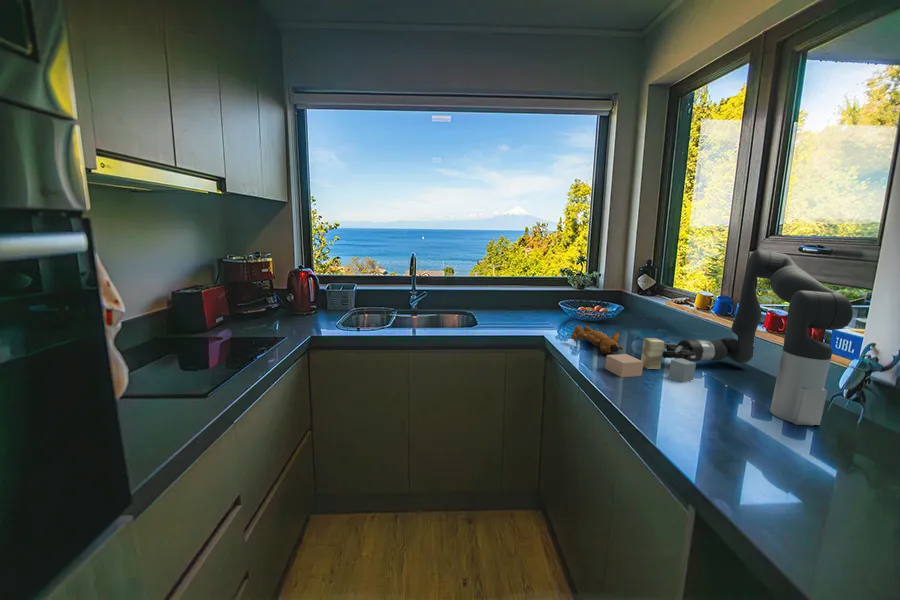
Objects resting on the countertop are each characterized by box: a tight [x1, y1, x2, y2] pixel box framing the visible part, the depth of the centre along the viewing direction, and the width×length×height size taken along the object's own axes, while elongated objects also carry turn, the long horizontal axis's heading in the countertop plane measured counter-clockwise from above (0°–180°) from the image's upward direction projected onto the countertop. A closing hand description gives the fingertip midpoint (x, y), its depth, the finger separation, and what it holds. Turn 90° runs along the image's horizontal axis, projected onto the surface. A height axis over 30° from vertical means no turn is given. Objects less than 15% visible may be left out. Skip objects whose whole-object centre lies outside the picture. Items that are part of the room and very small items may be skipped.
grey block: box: [668, 358, 697, 383], centre depth 127 cm, size 5×5×6 cm
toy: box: [571, 325, 625, 355], centre depth 160 cm, size 20×7×30 cm
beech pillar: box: [640, 337, 665, 370], centre depth 137 cm, size 4×4×10 cm
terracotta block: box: [604, 353, 644, 378], centre depth 131 cm, size 8×8×5 cm
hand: (654, 350), depth 137 cm, fingers open, 8 cm apart
